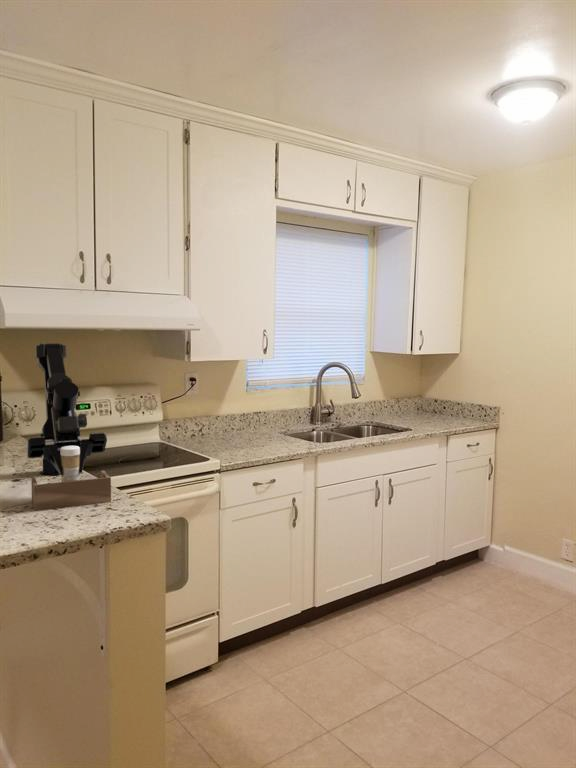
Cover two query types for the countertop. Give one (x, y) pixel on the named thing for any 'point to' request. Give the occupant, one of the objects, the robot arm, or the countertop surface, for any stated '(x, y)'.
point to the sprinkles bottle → (70, 463)
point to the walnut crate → (71, 492)
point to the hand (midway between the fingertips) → (71, 473)
